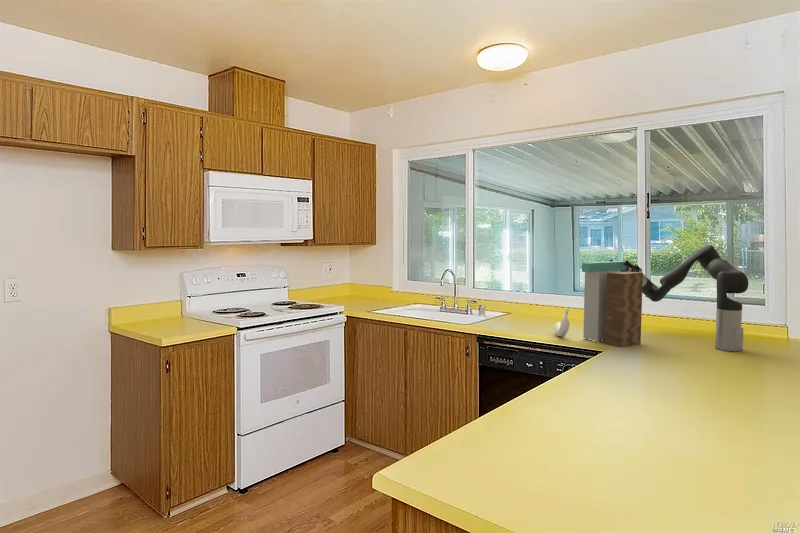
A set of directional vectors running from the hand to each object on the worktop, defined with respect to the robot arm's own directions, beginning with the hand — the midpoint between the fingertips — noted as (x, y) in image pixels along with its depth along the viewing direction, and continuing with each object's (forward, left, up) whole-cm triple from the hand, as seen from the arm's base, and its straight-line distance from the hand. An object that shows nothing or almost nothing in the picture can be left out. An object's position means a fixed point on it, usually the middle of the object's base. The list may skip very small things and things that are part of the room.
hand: (617, 261), depth 249 cm
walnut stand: (-12, +11, -36) cm, 39 cm away
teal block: (0, +9, -4) cm, 10 cm away
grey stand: (0, +11, -36) cm, 38 cm away
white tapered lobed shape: (+14, +22, -36) cm, 45 cm away
